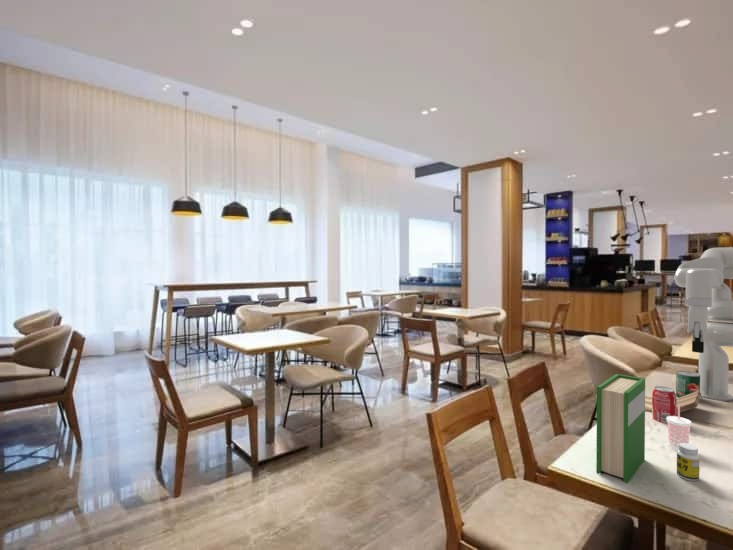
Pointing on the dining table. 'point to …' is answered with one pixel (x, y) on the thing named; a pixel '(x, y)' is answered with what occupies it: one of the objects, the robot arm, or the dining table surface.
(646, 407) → the flat tan panel
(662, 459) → the dining table surface
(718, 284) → the robot arm
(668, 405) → the soda can
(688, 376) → the canned tomato
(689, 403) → the plank
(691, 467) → the supplement bottle
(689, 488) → the dining table surface
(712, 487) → the dining table surface
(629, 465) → the hardback book
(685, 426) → the beverage cup
